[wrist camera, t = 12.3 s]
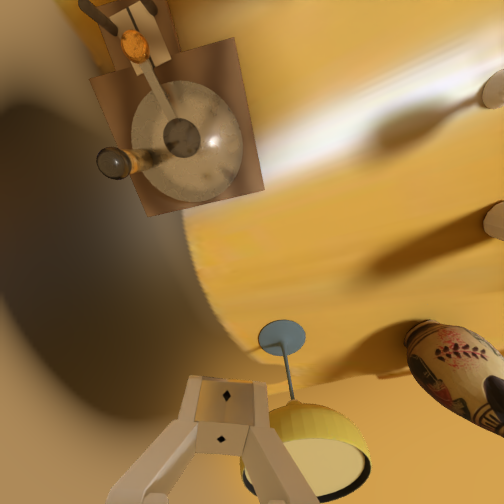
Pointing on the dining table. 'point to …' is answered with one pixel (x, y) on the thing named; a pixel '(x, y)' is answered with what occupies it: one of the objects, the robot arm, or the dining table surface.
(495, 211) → the water bottle
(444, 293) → the dining table surface
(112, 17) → the stand
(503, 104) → the chalice
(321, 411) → the cocktail glass
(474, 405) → the ceramic jug
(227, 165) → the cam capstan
